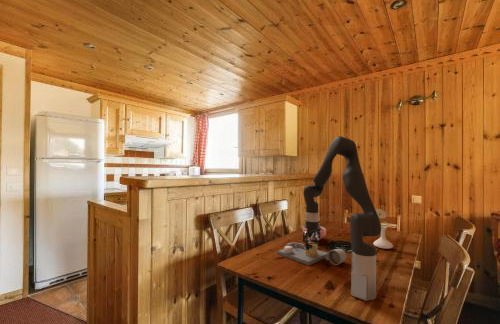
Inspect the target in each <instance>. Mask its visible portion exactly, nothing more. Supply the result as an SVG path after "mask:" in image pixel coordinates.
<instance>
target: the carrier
mask: <svg viewBox="0 0 500 324" xmlns="http://www.w3.org/2000/svg"><path fill="white" fill-rule="evenodd" d="M305 251H306V248H305V244H304V243H302V242H301V243H300V242H289V243H286V245H285V246H284V247H283V248H282V249H279V250H277V255H278V256H281V257H285V258H287V259H290V260H293V261H295V262H297V263H301V264H303V265H307V266H311V265H313V264H315V263H317V262H319V261H322V260H324V259H326V257H328V253H329V252H326V251H322V250H319V249H317V252H318V256H317V257H309V256H306V255H305Z"/></svg>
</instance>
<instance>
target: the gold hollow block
mask: <svg viewBox="0 0 500 324" xmlns="http://www.w3.org/2000/svg"><path fill="white" fill-rule="evenodd" d="M317 250H318V247H317V243H314V241H310V248H309V250H306V251H305V255H306V256H309V257H317V256H318V252H317Z"/></svg>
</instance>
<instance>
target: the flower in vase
mask: <svg viewBox="0 0 500 324" xmlns="http://www.w3.org/2000/svg"><path fill="white" fill-rule="evenodd" d="M375 210H376V212H377V215H378V217H379V219H386V217H387V216H388V215H387V212H386V211H385V210H383V209H380V208H375ZM387 223H388V221H386V222H382V223H381V233H380V237H379V238H378V239H376V240H375V241H373V244H372V245H373V246H375V248H376V247H377V248H380V249H384V250H387V249H388V250H389V249H393V247H394V245H393V244H392V243H391V242H390V241H389V240H388V239H387V237H386V230H387V228H388V226H385V224H387Z"/></svg>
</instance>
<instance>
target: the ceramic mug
mask: <svg viewBox="0 0 500 324" xmlns="http://www.w3.org/2000/svg"><path fill="white" fill-rule="evenodd" d="M327 253H328V257H326V258H325V260H326V261H329V263H331V265H334V266H338V265H341V264H343V263H344V262H345V261H346V260H347V258H348V256H347V253H346V251H345V250H344V249H343V248H335V249H331V250H329V251H328V252H327Z"/></svg>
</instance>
